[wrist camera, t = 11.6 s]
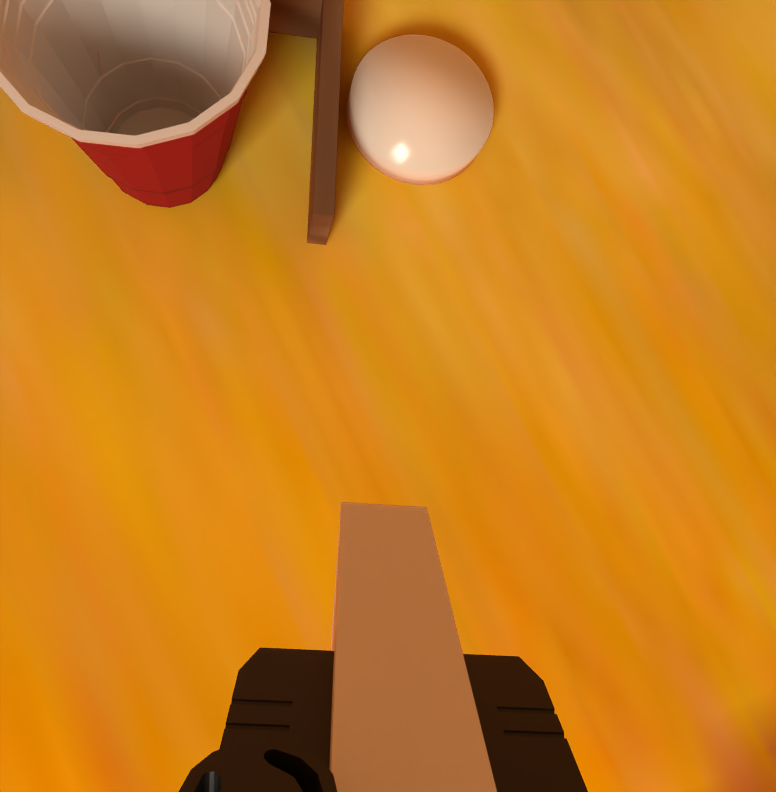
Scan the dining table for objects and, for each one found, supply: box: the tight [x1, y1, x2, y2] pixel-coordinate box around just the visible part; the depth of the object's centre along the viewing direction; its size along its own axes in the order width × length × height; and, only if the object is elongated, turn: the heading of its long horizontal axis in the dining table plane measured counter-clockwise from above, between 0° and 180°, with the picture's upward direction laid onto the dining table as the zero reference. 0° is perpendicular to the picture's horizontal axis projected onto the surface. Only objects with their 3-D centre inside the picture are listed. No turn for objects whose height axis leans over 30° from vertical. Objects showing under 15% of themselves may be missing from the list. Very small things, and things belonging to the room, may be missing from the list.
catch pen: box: [268, 0, 343, 245], centre depth 37 cm, size 20×13×4 cm, turn 88°
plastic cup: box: [0, 0, 271, 208], centre depth 33 cm, size 11×11×12 cm
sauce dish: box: [347, 34, 494, 185], centre depth 41 cm, size 8×8×2 cm
